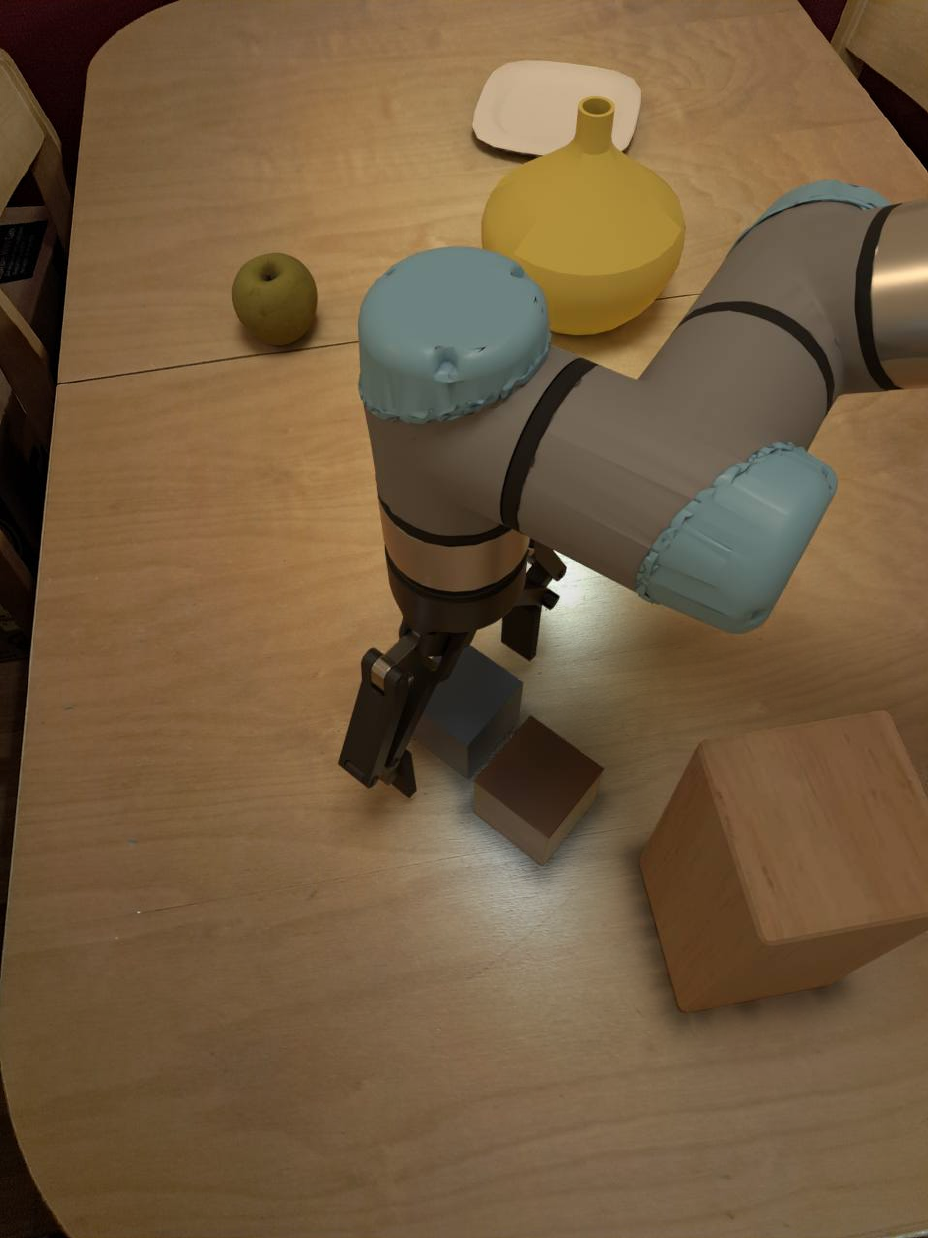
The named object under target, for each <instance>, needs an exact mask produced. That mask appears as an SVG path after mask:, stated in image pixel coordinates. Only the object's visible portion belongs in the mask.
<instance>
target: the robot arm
mask: <svg viewBox="0 0 928 1238" xmlns="http://www.w3.org/2000/svg"><path fill="white" fill-rule="evenodd" d="M549 325H550V321H549V316H548V306H547V302H546V298H545V295H544V293H543V291H542V289H541V287H540V286H539V285H538V284H537V283H536V282H535V281H533V280H532V279H531V278H530V277H529V276H528V275H527V273H526V272H525V271H524V270H523V268H522V266H521V265H520V264H518V263H517V262H515V261H513V260H512V259H510V258H508V257H506V256H504V255H501V254H499V253H496V252H493V251H490V250H485V249H482V248H480V247H474V246H462V245H460V246H459V245H457V246H456V245H455V246H454V245H453V246H441V247H436V248H435V247H434V248H431V249H427V250H422V251H419V252H417V253H414V254H411V255H409V256H406V257H405V258H403V259H401V260H399V261H398V262H396V263H394V264H392V265H391V266H390V267H389V268H388V269H387V270H385V272H384V273H383V274H382V275H381V276H379V277H378V278H376V279H375V281H374V282H373V284H371V286H370V287H369V288H368V290H367V292H366V294H365V295H364V297H363V299H362V302H361V305H360V309H359V313H358V319H357V334H358V336H357V337H358V352H359V353H358V355H359V376H358V383H357V388H358V389H357V390H358V394H359V397H360V401H362V405H363V410H364V414H365V420H366V425H367V430H368V437H369V441H370V448H371V454H372V459H373V460H372V461H373V467H374V472H375V473H374V474H375V475H374V477H375V483H376V490H377V501H378V509H379V516H380V523H381V531H382V537H383V542H384V556H385V562H386V570H387V578H388V585H389V588H390V591H391V594H392V596H393V599H394V601H395V603H396V605H397V607H398V609H399V611H400V613H401V615H402V618H401V623H400V626H399V629H398V640H397V642H395V644H394V645H392V646H391V647H390V648H389V649H388V650H387V651H385V653H383V652H381V650H379V649H377V648H376V647H375V646H374V647H371V648H370V649H368V650H367V651H366V652H365V653H364V655H363V656H362V658H361V660H360V671H361V681H360V684H359V688H358V691H357V696H356V699H355V702H354V706H353V709H352V713H351V716H350V720H349V723H348V727H347V730H346V733H345V737H344V741H343V744H342V747H341V751H340V754H339V758H338V761H337V765H338V766H339V767H340V768H341V769H343V770H344V771H345V772H346V773H348V774H349V775H350V776H351V777H353V778H354V779H355V780H356V781H358V782H359V784H361V785H362V786H364V787H365V788H366V789H367V790H370V789H373V788H374V787H375V786H377V785H378V783H379V781H381V782H382V783H383V784H385V785H386V786H389V787H390V786H393V788H395V789H397V790H398V791H399V792H400V793H402V794H403V795H404V796H405V797H406V798H407V799H411V798H412V797H413V796H414V795H415V793H416V792H418V788H417V783H416V776H415V768H414V761H413V754H412V752H411V751H409V750H408V749H407V747H408V745H409V743H410V741H411V739H412V738H413V737H412V735H413V733H414V731H415V729H416V727H417V725H418V723H419V721H420V719H421V717H422V714H423V712H424V710H425V708H426V706H427V704H428V702H429V700H430V698H431V696H432V694H433V692H434V690H435V688H436V686H437V684H439V683H441V682H443V681H445V680H447V679H448V678H449V677H450V675H451V673H452V671H453V669H454V667H455V665H456V663H457V661H458V659H459V657H460V655H461V653H462V651H463V649H464V648H466V647H468V646H469V645H472V642H473V639H475V638H474V637H475V636H476V634H477V632H478V631H479V630H481V629H485V628H487V627H490V626H492V625H493V624H495V623H497V622H499V621H500V620H501V630H500V631H501V632H500V642H501V644H503V645H505V646H506V647H508V648H509V649H510V650H511V651H513V652H515V653H517V654H518V655H519V656H520V657H522V658H523V659H525V660H526V661H528V662H529V663H530V662H531V661H533V659H534V658H535V657H536V656H537V652H538V642H539V636H540V635H539V634H540V628H541V627H540V625H541V619H542V612H543V611H542V610H543V607H544V608H545V609H547V610H549V611H551V610H553V609H555V607H556V605H557V604H558V602H559V600H560V597H561V595H560V594H558V593H556V592H555V591H553V590H552V589H550V588H549V587H548V586H549V585H550V583H551V582H552V580H553V581H555V582H557V583H558V582H560V581H561V579H563V578H564V577H565V576H566V574H567V569H568V567H567V564H565V562H563V560H562V559H561V558H560V556H559V555H558V554H557V553H559V554H560V555H562V556H564V557H565V558H568V559H570V560H571V561H574V562H576V563H577V564H580V565H582V566H583V567H585V568H588V569H589V570H592V571H594V572H595V573H597V574H598V575H601V576H603V577H604V578H607V579H608V580H611V581H612V582H615V583H616V584H618V585H620V586H622V587H624V588H626V589H628V590H630V591H632V592H634V593H636V594H637V595H638V597H639V598H641V599H642V600H643V601H645V602H647V603H649V604H651V605H652V604H655V605H657V606H659V605H661V606H663V607H666V608H668V609H671V610H673V611H676V612H678V613H680V614H683V615H685V616H686V617H689V618H691V619H694V620H696V621H699V622H701V623H703V624H706V625H708V626H710V627H713V628H715V629H718V630H720V631H722V632H725V633H727V634H731V635H744V634H748V633H752V632H753V631H755V630H757V629H759V628H760V627H761V626H763V625H764V624H765V623H766V622H767V620H768V619H769V618H770V616H771V614H772V613H773V611H774V609H775V608H776V606H777V603H778V601H779V600H780V598H781V596H782V594H783V592H784V590H785V589H786V587H787V586H788V583H789V582H790V579H791V577H792V576H793V573H794V572H795V570H796V568H797V566H798V564H799V562H800V561H801V559H802V557H803V555H804V554H805V552H806V550H807V548H808V546H809V545H810V543H811V541H812V539H813V537H814V536H815V533H816V532H817V529H818V528H819V526H820V523H821V522H822V520H823V518H824V516H825V514H826V512H827V510H828V509H829V507H830V505H831V503H832V502H833V499H834V498H835V495H836V493H837V491H838V486H839V485H838V484H839V481H838V477H837V473H836V471H835V470H834V469H833V467H832V466H830V464H828V463H826V462H825V461H822V460H820V459H819V458H817V457H816V456H814V455H812V454H811V453H809V452H808V451H809V450H810V448H811V446H812V444H813V442H814V440H815V438H816V437H817V434H818V432H819V430H820V428H821V426H822V424H823V423H824V421H825V419H826V417H827V416H828V415H829V413H830V411H831V409H832V408H833V406H834V404H835V403H836V401H837V399H838V398H839V397H840V396H844V395H852V394H871V393H883V392H889V391H901V390H916V389H928V197H922V198H918V199H913V200H909V201H904V202H900V203H894V204H892V203H891V202H890V201H889V200H888V199H887V198H886V197H884V196H883V195H881V194H880V193H879V192H878V191H875V190H873V189H872V188H870V187H867V186H864V185H863V186H859V185H856V184H853V183H850V182H844V181H840V180H838V179H822V180H815V181H811V182H807V183H805V184H802V185H800V186H799V185H798V187H794V188H792V189H791V190H789V191H788V192H786V193H784V194H782V195H781V196H780V197H779V198H778V199H776V200H774V201H773V203H772V204H770V206H769V207H768V208H767V209H765V211H764V212H763V213H762V214H761V215H760V217H758V218H757V220H755V222H754V223H753V224H752V225H751V226H749V227H747V228H745V229H744V230H743V231H742V233H741V234H739V236H738V238H737V239H736V240H735V242H734V243H733V245H732V246H731V247H730V249H729V251H728V252H727V254H726V256H725V258H724V260H723V261H722V263H721V264H720V265H719V267H718V268H717V270H716V272H715V273H714V274H713V275H712V277H711V278H710V279H709V281H708V282H707V284H706V286H705V287H703V289H702V290H701V292H700V293H699V295H698V296H697V298H696V299H695V301H694V302H693V304H692V305H691V306H690V308H689V309H688V310H687V312H686V313H685V315H684V316H683V317H682V319H681V320H680V322H679V323H678V324H677V325H676V327H675V328H674V330H673V331H672V332H671V334H670V335H669V337H668V338H667V339H666V341H665V342H664V343H663V345H662V346H661V347H660V349H659V350H658V351H657V352H656V354H655V355H654V357H653V358H652V359H651V361H650V362H649V363H648V365H647V366H646V367H645V368H644V370H643V371H642V373H641V374H640V375H639V377H638V378H637V379H636V378H634V377H631V376H628V375H625V374H623V373H620V372H617V371H615V370H613V369H611V368H608V367H606V366H604V365H601V364H598V363H597V362H594V361H592V360H590V359H586V358H585V357H582V356H580V355H578V354H577V353H574V352H571V351H569V350H567V349H564V348H562V347H559V346H557V345H555V344H552V343H553V341H552V338H553V334H552V333H551V332H552V331H551V329H550V327H549ZM528 565H530V567H529V568H527V567H528ZM438 656H442V658H441V661H440V663H439V664H438V663H437V662H435V661H434V660H432V658H433V657H438Z"/></svg>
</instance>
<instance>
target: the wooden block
mask: <svg viewBox="0 0 928 1238" xmlns="http://www.w3.org/2000/svg"><path fill="white" fill-rule="evenodd" d="M638 863H639V867H640V870H641V875H642V878H643V881H644V886H645V889H646V893H647V896H648V901H649V904H650V907H651V911H652V914H653V918H654V922H655V923H654V924H655V926H656V929H657V933H658V937H659V941H660V944H661V948H662V952H663V956H664V959H665V963H666V966H667V970H668V975H669V977H670V980H671V981H670V982H671V985H672V988H673V992H674V995H675V999H676V1003H677V1006H678V1007H679V1009H680V1010H681V1011H682V1012H685V1013H691V1012H692V1013H693V1012H696V1011H703V1010H708V1009H712V1008H718V1007H724V1006H728V1005H733V1004H738V1003H744V1002H749V1001H755V1000H760V999H765V998H770V997H774V996H775V997H776V996H781V995H786V994H790V993H796V992H800V991H806V990H811V989H816V988H821V987H826V986H830V985H832V984H833V983H836V982H837V981H839V980H841V979H842V978H844V977H846V976H848V975H850V974H851V973H854V972H855V971H857V970H859V969H861V968H862V967H864V966H867V965H869V964H870V963H872V962H873V961H875V960H877V959H879V958H881V957H883V956H884V955H885V954H888V953H890V952H891V951H893V950H895V949H897V948H899V947H900V946H902V945H904V944H906V943H908V942H910V941H911V940H914V939H915V938H917V937H918V936H920V935H922V934H924V933H926V932H927V931H928V796H927V793H926V792H925V789H924V787H923V785H922V783H921V781H920V778H919V776H918V774H917V772H916V770H915V767H914V765H913V763H912V760H911V758H910V756H909V754H908V752H907V750H906V747H905V745H904V742H903V741H902V738H901V736H900V734H899V731H898V729H897V727H896V725H895V722H894V721H893V717H892V715H891V714H890V713H889V712H888V711H887V710H882V709H881V710H880V709H879V710H873V711H866V712H862V713H854V714H848V715H841V716H837V717H832V718H825V719H819V720H813V721H807V722H801V723H795V724H789V725H783V726H778V727H772V728H765V729H759V730H754V731H748V732H747V731H746V732H742V733H735V734H729V735H724V736H718V737H712V738H706V739H703V740H702V741H699V742H698V744H697V745H696V747H695V749H694V751H693V753H692V755H691V757H690V759H689V761H688V764H686V767H685V769H684V770H683V773H682V775H681V776H680V779H679V780H678V782H677V784H676V786H675V787H674V790H673V792H672V794H671V796H670V798H669V800H668V802H667V804H666V806H665V807H664V809H663V811H662V813H661V815H660V817H659V819H658V821H657V823H656V825H655V827H654V829H653V831H652V833H651V835H650V836H649V838H648V841H647V843H646V845H645V847H644V848H643V850H642V853H640V856H639V861H638Z"/></svg>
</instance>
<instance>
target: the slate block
mask: <svg viewBox="0 0 928 1238" xmlns="http://www.w3.org/2000/svg"><path fill="white" fill-rule="evenodd" d="M441 658H442V656H438V657H431V659H432V660H434V661H435V662H437V663H438V664H439V663H440V661H441ZM523 687H524V681H522V680H521V679H519V678H518V677H517V676H515V675H514V674H513V673H511V672H510V671H508V670H507V669H505V668H504V667H502V666H501V665H499V664H498V663H497V662H495V661H494V660H493V659H491V658H489V656H487V655H486V654H484V653H483V652H482V651H480V650H478V649H477V648H475V647H474V646H473V645H472V644H470V645H469V646H468V647H466V648H464V649H463V651H462V653H461V655H460V657H459V659H458V661H457V663H456V665H455V667H454V669H453V671H452V673H451V675H450V677H449V678H448V679H447V680H445V681H443V682H441V683H439V684H437V686H436V688H435V690H434V692H433V694H432V696H431V698H430V700H429V702H428V704H427V706H426V708H425V710H424V712H423V714H422V717H421V719H420V721H419V723H418V725H417V727H416V729H415V731H414V733H413V735H412V737H411V738H413V739H414V740H415V741H417V742H418V743H419V744H420V745H422V746H423V747H425V748H426V749H427V750H428V751H430V752H431V753H433V754H434V755H435V756H436V757H438V758H439V759H440V760H441V761H443V762H444V763H445V764H446V765H448V766H449V767H450V768H452V769H453V770H455V771H456V772H457V773H458V774H459V775H461V776H463V778H465V779H466V780H469V779H470V778H472V776H473V775H474V774H475V772H476V771H477V770H478V769H479V767H481V765H482V764H483V763H484V762H485V761H486V759H487V758H488V757H489V756H490V755H491V754H492V752H493V751H494V750H495V749H496V748H497V746H498V745H499V744H501V742H502V741H503V740H504V738H505V737H507V735H508V734H509V732H511V730H512V729H513V728H514V727H515V725H517V723H518V722H519V721H520V717H521V710H522V709H521V707H522V699H523V698H522V697H523V690H524V689H523Z"/></svg>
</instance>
